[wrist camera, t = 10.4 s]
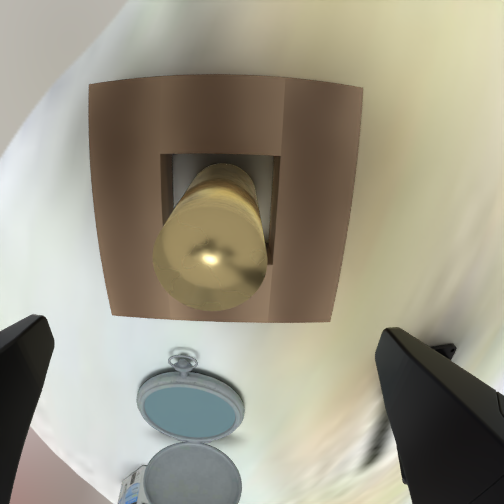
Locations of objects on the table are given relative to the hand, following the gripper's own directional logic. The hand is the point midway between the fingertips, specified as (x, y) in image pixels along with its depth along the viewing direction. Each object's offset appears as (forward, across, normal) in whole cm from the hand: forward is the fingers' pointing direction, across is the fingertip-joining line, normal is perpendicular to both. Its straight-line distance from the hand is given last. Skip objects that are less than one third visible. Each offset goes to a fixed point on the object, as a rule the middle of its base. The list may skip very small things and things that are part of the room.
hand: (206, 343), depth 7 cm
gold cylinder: (+13, 0, 0) cm, 13 cm away
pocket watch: (+13, +3, +20) cm, 24 cm away
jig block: (+13, 0, 0) cm, 13 cm away
